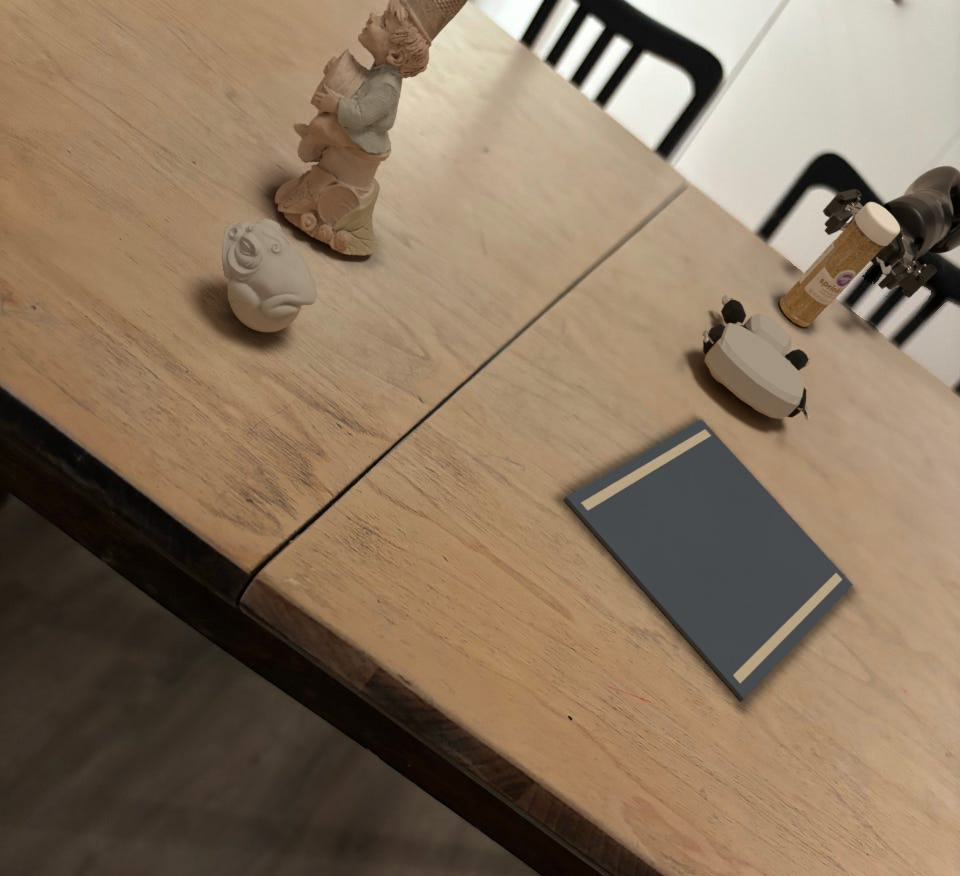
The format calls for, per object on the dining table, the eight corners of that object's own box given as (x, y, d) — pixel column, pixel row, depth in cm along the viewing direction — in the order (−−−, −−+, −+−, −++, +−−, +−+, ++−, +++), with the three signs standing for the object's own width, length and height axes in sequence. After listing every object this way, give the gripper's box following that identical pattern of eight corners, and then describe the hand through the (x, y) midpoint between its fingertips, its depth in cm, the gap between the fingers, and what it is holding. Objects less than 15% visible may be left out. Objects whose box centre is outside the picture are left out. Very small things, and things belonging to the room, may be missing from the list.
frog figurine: (227, 270, 70) (255, 188, 65) (312, 326, 71) (346, 250, 66) (185, 310, 66) (211, 226, 61) (276, 369, 67) (309, 291, 62)
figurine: (378, 214, 82) (489, -24, 67) (370, 275, 77) (487, 33, 63) (276, 166, 79) (369, -95, 64) (260, 227, 74) (357, -41, 59)
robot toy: (702, 311, 102) (678, 372, 91) (731, 277, 99) (709, 335, 88) (794, 382, 103) (780, 450, 93) (825, 350, 100) (815, 416, 90)
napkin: (698, 421, 89) (701, 418, 89) (849, 587, 87) (853, 584, 86) (563, 499, 74) (566, 496, 74) (740, 701, 72) (744, 698, 72)
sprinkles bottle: (791, 327, 108) (884, 229, 98) (771, 297, 109) (860, 197, 100) (816, 329, 111) (909, 234, 101) (796, 300, 112) (885, 202, 102)
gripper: (886, 162, 117) (839, 179, 106) (970, 246, 116) (931, 272, 105) (840, 214, 123) (791, 235, 112) (920, 294, 121) (878, 324, 110)
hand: (859, 253), depth 108 cm, fingers open, 8 cm apart
